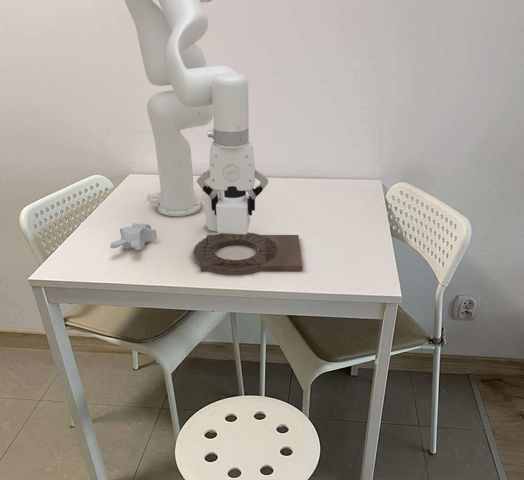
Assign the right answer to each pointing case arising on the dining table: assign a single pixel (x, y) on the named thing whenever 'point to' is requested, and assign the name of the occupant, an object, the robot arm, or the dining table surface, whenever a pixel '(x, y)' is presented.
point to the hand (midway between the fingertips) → (233, 212)
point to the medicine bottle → (233, 211)
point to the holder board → (266, 259)
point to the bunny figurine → (135, 236)
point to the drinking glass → (209, 208)
